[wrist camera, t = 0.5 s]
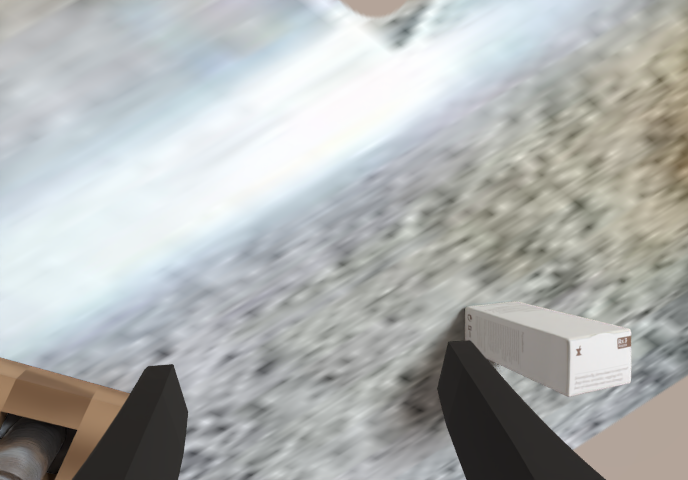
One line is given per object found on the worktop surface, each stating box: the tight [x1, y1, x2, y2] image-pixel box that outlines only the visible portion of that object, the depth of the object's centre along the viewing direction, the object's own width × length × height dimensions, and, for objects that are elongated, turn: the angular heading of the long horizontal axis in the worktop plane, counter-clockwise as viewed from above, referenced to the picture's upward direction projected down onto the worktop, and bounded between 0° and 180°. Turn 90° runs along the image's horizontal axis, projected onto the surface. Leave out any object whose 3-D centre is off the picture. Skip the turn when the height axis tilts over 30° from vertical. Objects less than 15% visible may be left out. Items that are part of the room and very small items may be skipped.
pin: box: [0, 417, 66, 480], centre depth 26 cm, size 4×4×9 cm
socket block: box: [0, 358, 130, 480], centre depth 29 cm, size 9×9×2 cm
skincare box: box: [465, 301, 631, 397], centre depth 36 cm, size 6×4×12 cm
